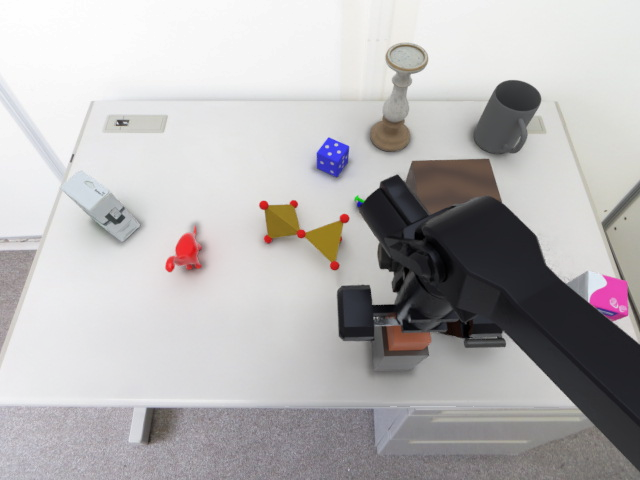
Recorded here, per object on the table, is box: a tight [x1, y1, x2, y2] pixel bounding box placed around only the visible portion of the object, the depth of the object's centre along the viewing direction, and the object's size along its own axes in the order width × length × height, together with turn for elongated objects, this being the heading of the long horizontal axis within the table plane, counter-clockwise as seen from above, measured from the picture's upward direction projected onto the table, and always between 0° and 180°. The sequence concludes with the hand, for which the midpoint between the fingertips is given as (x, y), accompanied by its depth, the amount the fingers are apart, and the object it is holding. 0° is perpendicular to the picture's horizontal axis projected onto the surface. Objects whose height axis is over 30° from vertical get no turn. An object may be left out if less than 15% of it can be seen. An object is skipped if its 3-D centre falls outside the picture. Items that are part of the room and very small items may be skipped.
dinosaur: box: [164, 224, 203, 273], centre depth 65 cm, size 4×15×12 cm, turn 8°
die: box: [316, 137, 350, 178], centre depth 79 cm, size 5×5×5 cm
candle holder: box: [370, 42, 429, 152], centre depth 75 cm, size 9×9×20 cm
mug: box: [473, 79, 542, 155], centre depth 77 cm, size 14×9×12 cm
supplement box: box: [565, 270, 629, 322], centre depth 60 cm, size 6×6×12 cm
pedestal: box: [370, 317, 430, 372], centre depth 57 cm, size 6×6×12 cm
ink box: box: [58, 169, 141, 243], centre depth 69 cm, size 9×5×12 cm, turn 54°
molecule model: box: [258, 194, 366, 272], centre depth 69 cm, size 16×18×12 cm
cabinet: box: [405, 158, 503, 214], centre depth 70 cm, size 20×15×8 cm
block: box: [387, 317, 433, 351], centre depth 49 cm, size 5×5×5 cm
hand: (404, 329), depth 51 cm, fingers open, 9 cm apart
